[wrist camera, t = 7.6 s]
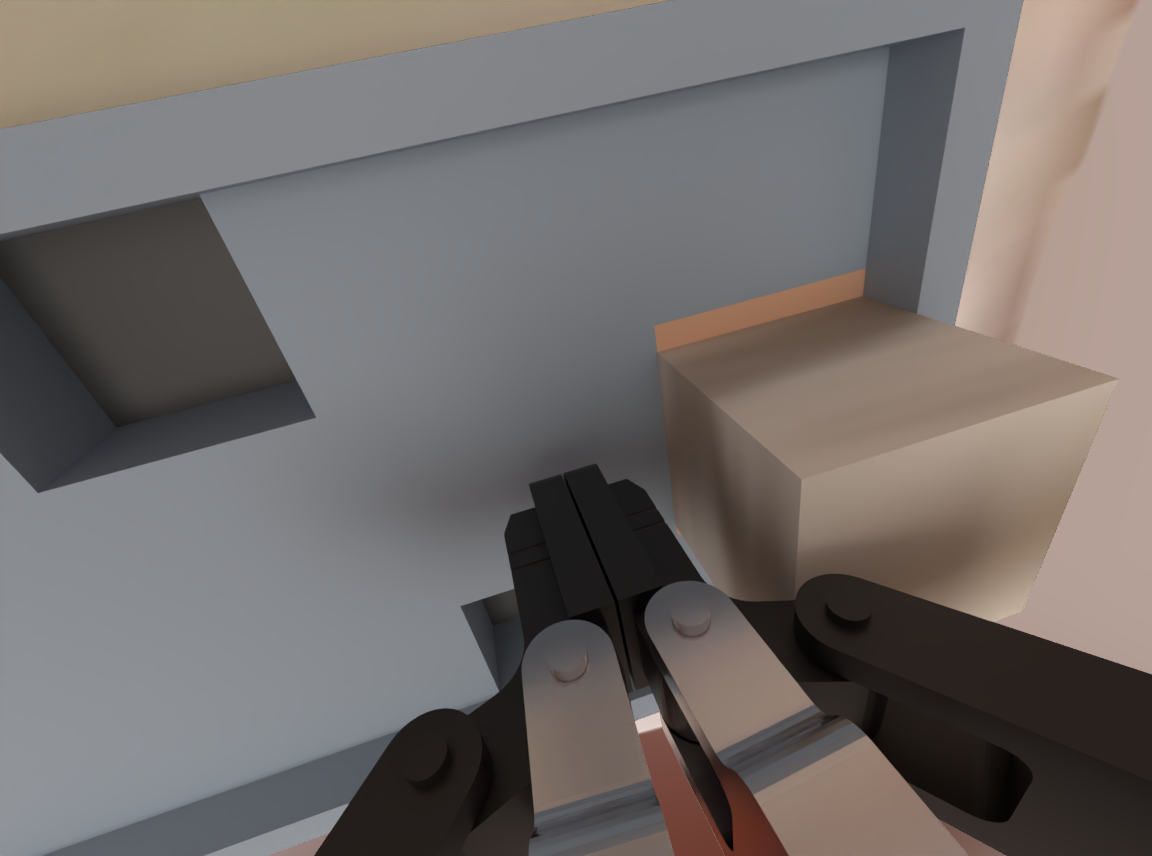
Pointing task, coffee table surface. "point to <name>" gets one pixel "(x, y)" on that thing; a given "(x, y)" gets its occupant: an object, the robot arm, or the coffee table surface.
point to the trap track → (404, 367)
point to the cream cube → (874, 455)
